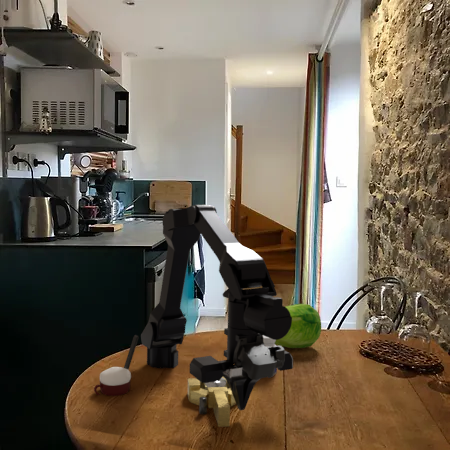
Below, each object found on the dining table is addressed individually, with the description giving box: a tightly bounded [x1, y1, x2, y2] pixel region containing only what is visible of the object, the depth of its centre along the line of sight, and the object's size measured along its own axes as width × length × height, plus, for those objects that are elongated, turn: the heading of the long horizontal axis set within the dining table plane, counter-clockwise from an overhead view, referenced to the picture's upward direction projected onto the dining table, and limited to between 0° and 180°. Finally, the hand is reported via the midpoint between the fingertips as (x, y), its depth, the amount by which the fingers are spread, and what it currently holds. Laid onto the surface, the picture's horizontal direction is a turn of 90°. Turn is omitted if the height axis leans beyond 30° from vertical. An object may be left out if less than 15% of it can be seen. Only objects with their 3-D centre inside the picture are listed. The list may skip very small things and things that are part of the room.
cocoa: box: [93, 334, 139, 397], centre depth 109 cm, size 10×6×12 cm, turn 106°
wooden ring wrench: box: [187, 377, 237, 428], centre depth 103 cm, size 19×11×4 cm, turn 8°
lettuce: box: [274, 303, 322, 349], centre depth 145 cm, size 14×20×12 cm
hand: (241, 409), depth 97 cm, fingers closed
